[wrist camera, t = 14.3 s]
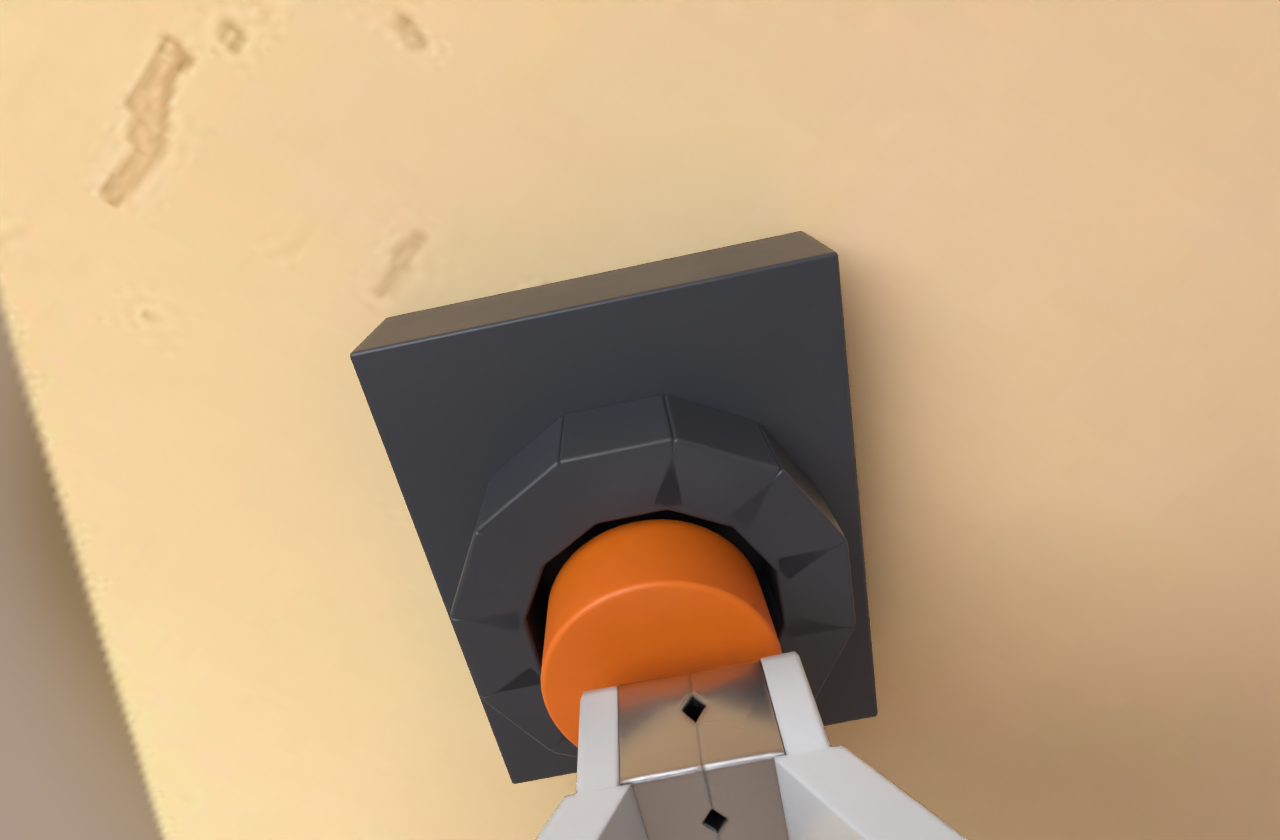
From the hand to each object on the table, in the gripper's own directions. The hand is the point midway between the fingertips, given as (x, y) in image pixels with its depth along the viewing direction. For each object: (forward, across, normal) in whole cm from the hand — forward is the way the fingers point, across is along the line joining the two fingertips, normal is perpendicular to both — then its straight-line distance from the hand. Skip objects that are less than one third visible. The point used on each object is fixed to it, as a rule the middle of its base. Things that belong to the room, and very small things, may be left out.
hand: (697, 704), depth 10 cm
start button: (+2, 0, 0) cm, 2 cm away
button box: (+6, 0, 0) cm, 6 cm away
